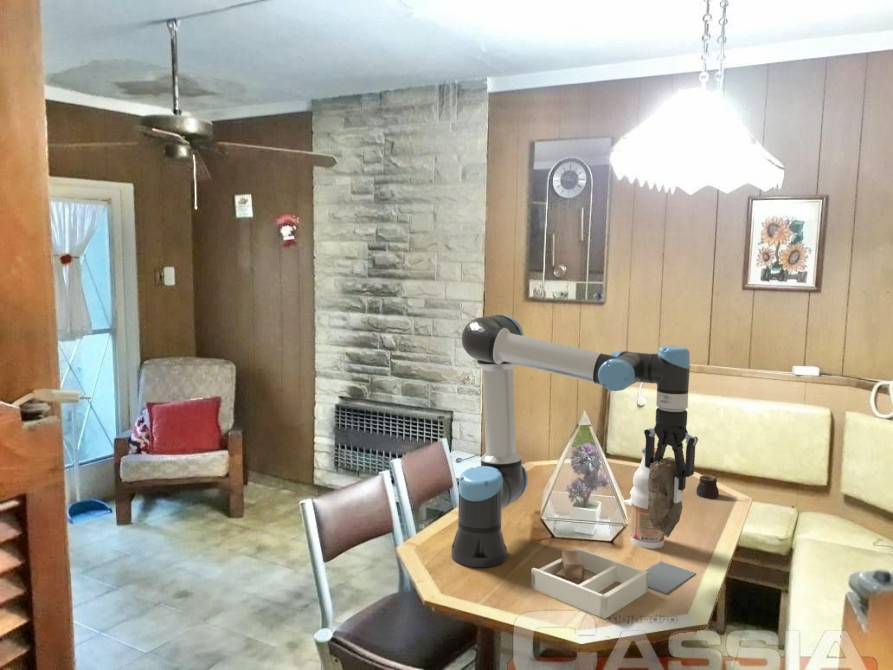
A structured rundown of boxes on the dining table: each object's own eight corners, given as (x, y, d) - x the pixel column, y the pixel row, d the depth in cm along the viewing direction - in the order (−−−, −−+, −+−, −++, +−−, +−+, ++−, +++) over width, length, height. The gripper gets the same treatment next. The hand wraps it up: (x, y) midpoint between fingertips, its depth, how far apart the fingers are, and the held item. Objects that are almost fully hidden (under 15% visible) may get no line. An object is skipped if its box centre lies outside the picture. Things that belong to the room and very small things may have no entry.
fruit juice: (623, 541, 205) (627, 446, 202) (647, 536, 209) (652, 443, 206) (645, 553, 197) (650, 455, 194) (671, 547, 201) (676, 451, 198)
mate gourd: (694, 496, 246) (695, 468, 245) (717, 497, 245) (718, 469, 244) (697, 503, 239) (698, 474, 238) (721, 504, 238) (722, 475, 237)
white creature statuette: (616, 508, 233) (617, 472, 232) (631, 502, 239) (632, 467, 238) (641, 515, 226) (643, 479, 225) (656, 509, 232) (657, 474, 231)
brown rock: (670, 526, 187) (674, 452, 184) (687, 531, 183) (692, 456, 181) (642, 540, 177) (646, 462, 175) (660, 546, 173) (664, 467, 171)
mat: (629, 581, 179) (629, 579, 179) (660, 563, 190) (660, 561, 190) (666, 594, 172) (666, 592, 172) (696, 574, 183) (696, 573, 183)
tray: (530, 588, 174) (531, 568, 174) (575, 565, 188) (576, 547, 188) (604, 619, 160) (605, 597, 159) (647, 591, 174) (648, 572, 173)
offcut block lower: (555, 587, 176) (555, 573, 175) (569, 576, 182) (569, 563, 182) (569, 591, 173) (570, 578, 173) (583, 580, 180) (584, 567, 179)
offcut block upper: (565, 577, 173) (565, 564, 173) (561, 563, 181) (562, 550, 181) (581, 578, 173) (582, 564, 173) (577, 564, 181) (577, 551, 181)
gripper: (632, 405, 180) (628, 494, 183) (699, 416, 168) (694, 511, 170) (646, 401, 186) (643, 487, 188) (712, 412, 173) (708, 504, 175)
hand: (667, 499), depth 179 cm, fingers closed on brown rock, 5 cm apart
